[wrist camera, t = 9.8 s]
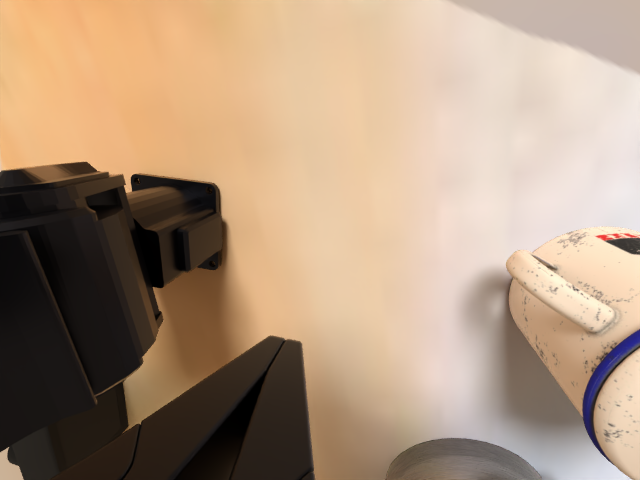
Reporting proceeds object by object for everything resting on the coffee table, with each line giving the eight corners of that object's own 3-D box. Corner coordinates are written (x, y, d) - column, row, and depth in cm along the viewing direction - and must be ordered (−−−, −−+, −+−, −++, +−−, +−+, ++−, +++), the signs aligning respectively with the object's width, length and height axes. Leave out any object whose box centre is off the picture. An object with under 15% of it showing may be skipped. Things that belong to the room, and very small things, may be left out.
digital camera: (69, 335, 29) (-21, 393, 22) (118, 348, 28) (40, 413, 22) (84, 411, 33) (11, 480, 26) (129, 425, 32) (65, 499, 25)
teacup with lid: (718, 273, 17) (1335, 528, 6) (586, 374, 20) (824, 651, 9) (536, 164, 17) (825, 220, 6) (434, 284, 20) (498, 459, 9)
